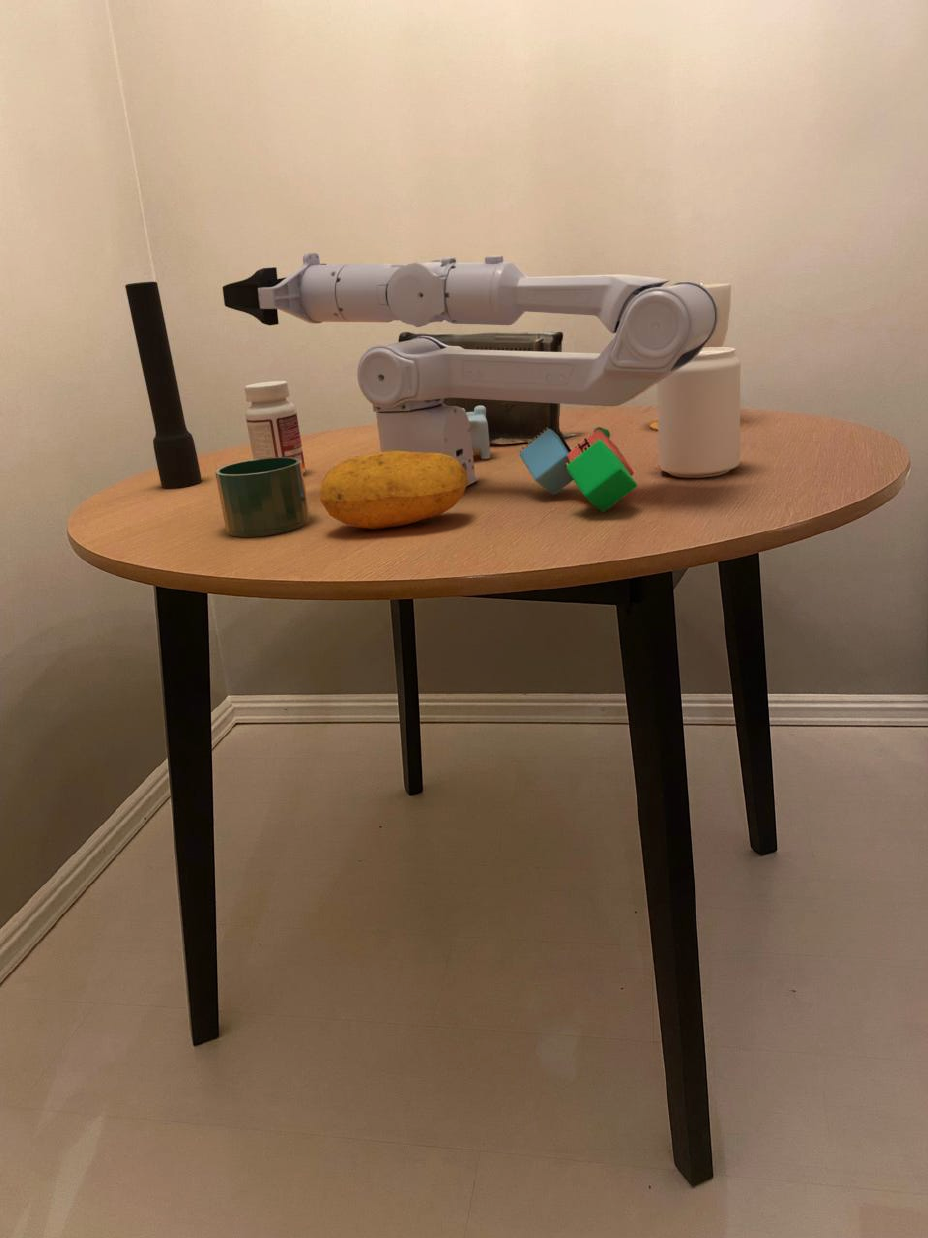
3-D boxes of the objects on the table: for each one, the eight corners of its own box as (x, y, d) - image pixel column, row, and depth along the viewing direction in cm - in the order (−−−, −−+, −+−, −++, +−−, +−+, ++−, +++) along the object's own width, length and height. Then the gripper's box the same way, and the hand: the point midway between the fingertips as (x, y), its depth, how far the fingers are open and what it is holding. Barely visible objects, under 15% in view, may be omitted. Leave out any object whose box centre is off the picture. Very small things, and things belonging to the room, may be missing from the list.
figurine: (487, 449, 121) (483, 401, 119) (492, 460, 113) (488, 409, 111) (456, 452, 121) (451, 404, 119) (460, 464, 113) (454, 412, 111)
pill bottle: (304, 468, 120) (290, 378, 117) (307, 477, 115) (292, 382, 111) (256, 474, 119) (240, 384, 116) (256, 484, 114) (240, 389, 110)
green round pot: (326, 516, 94) (317, 457, 92) (274, 538, 88) (264, 475, 86) (262, 513, 98) (252, 456, 96) (209, 535, 92) (197, 474, 90)
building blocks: (588, 553, 90) (535, 467, 96) (657, 500, 87) (599, 415, 93) (549, 524, 84) (496, 434, 90) (623, 466, 81) (563, 378, 87)
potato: (332, 521, 92) (321, 452, 90) (471, 508, 91) (464, 439, 89) (319, 543, 85) (308, 468, 82) (471, 529, 84) (464, 454, 82)
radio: (579, 434, 124) (572, 317, 119) (551, 447, 117) (544, 323, 112) (430, 435, 136) (418, 327, 131) (397, 447, 129) (383, 334, 124)
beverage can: (742, 477, 93) (743, 352, 89) (658, 481, 95) (655, 358, 90) (736, 460, 100) (737, 344, 96) (659, 464, 102) (656, 350, 98)
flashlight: (197, 485, 116) (205, 477, 121) (156, 280, 108) (167, 280, 113) (157, 490, 116) (167, 481, 121) (113, 284, 108) (125, 284, 113)
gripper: (385, 249, 102) (286, 252, 108) (305, 254, 90) (198, 257, 96) (389, 317, 105) (292, 316, 111) (312, 330, 93) (207, 328, 99)
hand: (249, 293), depth 104 cm, fingers open, 7 cm apart
